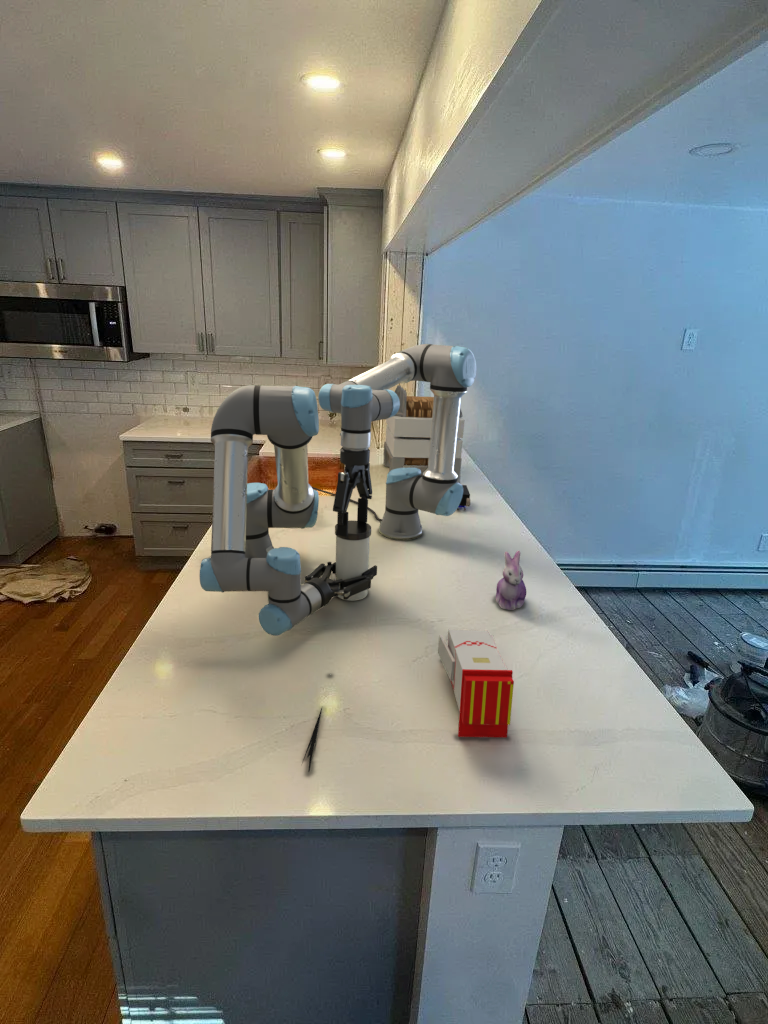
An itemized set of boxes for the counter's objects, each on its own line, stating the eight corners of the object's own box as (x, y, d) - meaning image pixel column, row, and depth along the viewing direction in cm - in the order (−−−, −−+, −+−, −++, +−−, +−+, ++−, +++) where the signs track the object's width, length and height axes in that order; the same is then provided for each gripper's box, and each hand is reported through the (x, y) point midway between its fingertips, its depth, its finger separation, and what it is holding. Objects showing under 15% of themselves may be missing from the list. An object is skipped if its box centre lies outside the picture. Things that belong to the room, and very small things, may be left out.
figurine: (508, 614, 149) (515, 562, 144) (485, 597, 158) (490, 547, 153) (536, 607, 153) (543, 557, 148) (511, 591, 162) (518, 542, 157)
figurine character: (470, 515, 225) (465, 499, 238) (472, 498, 221) (467, 483, 235) (453, 515, 224) (449, 499, 238) (455, 497, 221) (451, 482, 234)
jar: (367, 585, 162) (369, 522, 155) (367, 600, 153) (370, 535, 147) (336, 585, 161) (336, 522, 155) (334, 600, 153) (335, 534, 146)
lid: (370, 527, 156) (371, 520, 156) (371, 540, 147) (371, 534, 146) (335, 526, 156) (335, 520, 155) (334, 539, 147) (334, 533, 146)
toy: (488, 613, 130) (523, 677, 101) (484, 667, 133) (517, 744, 104) (435, 612, 130) (455, 676, 101) (432, 666, 133) (451, 743, 103)
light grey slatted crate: (382, 463, 289) (386, 382, 275) (445, 464, 293) (451, 384, 279) (390, 482, 257) (394, 392, 243) (460, 483, 261) (468, 394, 247)
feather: (331, 679, 122) (336, 673, 122) (307, 777, 96) (313, 769, 95) (324, 675, 122) (329, 669, 121) (298, 772, 95) (304, 764, 95)
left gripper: (277, 597, 147) (329, 567, 165) (346, 623, 137) (393, 588, 155) (277, 571, 145) (330, 543, 163) (347, 595, 134) (395, 563, 152)
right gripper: (361, 437, 155) (359, 513, 162) (319, 454, 134) (318, 540, 142) (387, 441, 152) (383, 517, 160) (347, 459, 132) (345, 546, 139)
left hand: (361, 565), depth 159 cm, fingers closed on jar, 9 cm apart
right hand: (352, 528), depth 151 cm, fingers open, 11 cm apart
